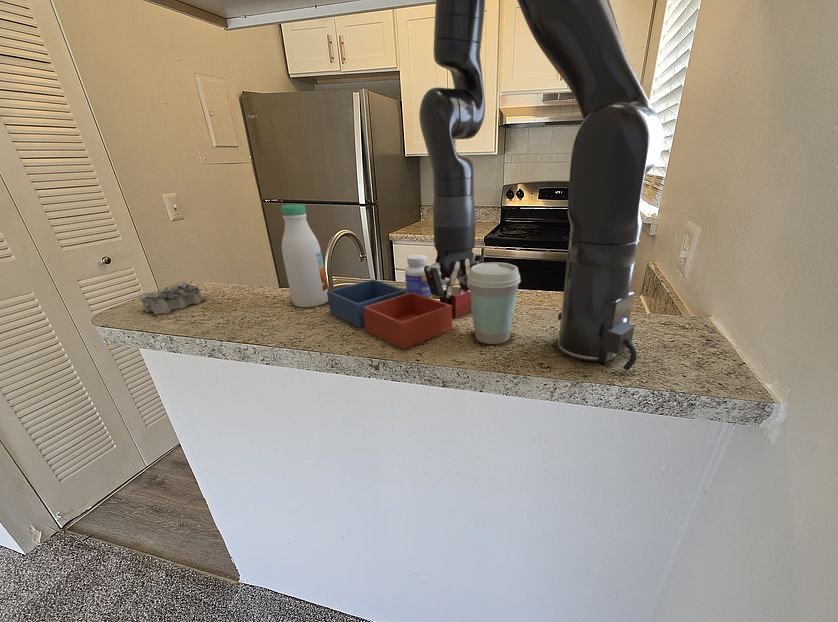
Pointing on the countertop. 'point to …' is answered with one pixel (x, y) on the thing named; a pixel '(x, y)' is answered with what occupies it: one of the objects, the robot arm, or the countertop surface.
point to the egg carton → (171, 298)
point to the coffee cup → (493, 300)
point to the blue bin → (359, 299)
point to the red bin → (408, 319)
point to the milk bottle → (302, 259)
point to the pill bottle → (417, 276)
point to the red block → (460, 302)
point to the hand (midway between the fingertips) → (456, 310)
